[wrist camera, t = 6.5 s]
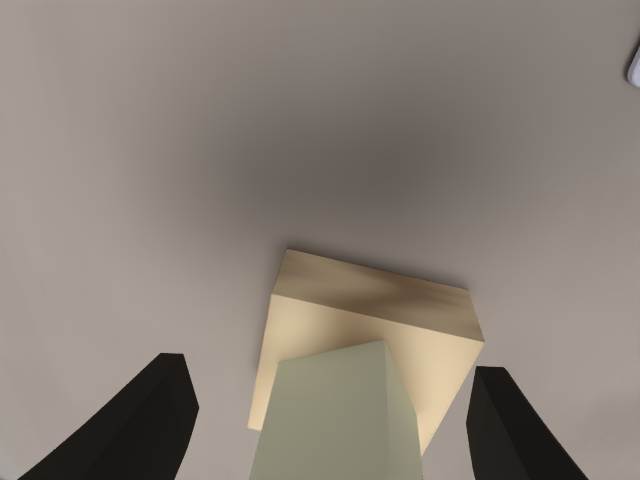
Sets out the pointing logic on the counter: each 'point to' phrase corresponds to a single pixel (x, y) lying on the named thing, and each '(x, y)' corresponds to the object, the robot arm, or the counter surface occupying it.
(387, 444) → the sage block
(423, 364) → the maple slab
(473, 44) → the counter surface
